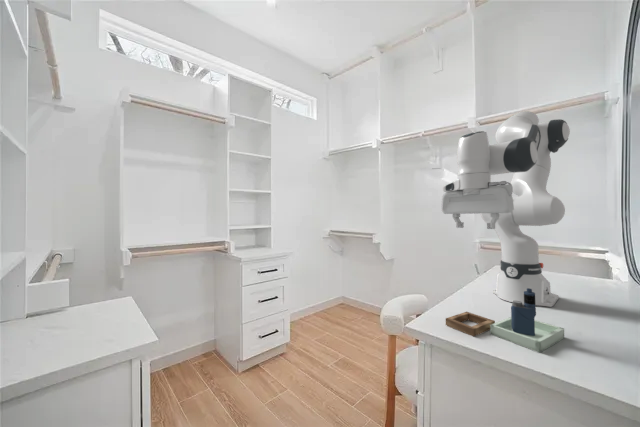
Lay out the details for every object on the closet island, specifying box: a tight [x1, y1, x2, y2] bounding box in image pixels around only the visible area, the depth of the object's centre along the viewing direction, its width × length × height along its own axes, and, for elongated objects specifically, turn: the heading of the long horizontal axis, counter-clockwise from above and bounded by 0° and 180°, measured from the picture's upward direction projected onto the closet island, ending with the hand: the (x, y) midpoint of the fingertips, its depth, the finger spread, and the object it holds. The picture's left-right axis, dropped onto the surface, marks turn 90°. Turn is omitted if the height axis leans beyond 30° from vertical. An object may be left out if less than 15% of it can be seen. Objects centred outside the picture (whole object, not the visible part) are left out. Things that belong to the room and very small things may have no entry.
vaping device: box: [510, 288, 537, 336], centre depth 68 cm, size 3×5×12 cm, turn 57°
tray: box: [489, 316, 565, 354], centre depth 68 cm, size 14×11×2 cm
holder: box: [445, 311, 496, 337], centre depth 74 cm, size 10×8×2 cm
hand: (474, 228), depth 79 cm, fingers open, 8 cm apart
